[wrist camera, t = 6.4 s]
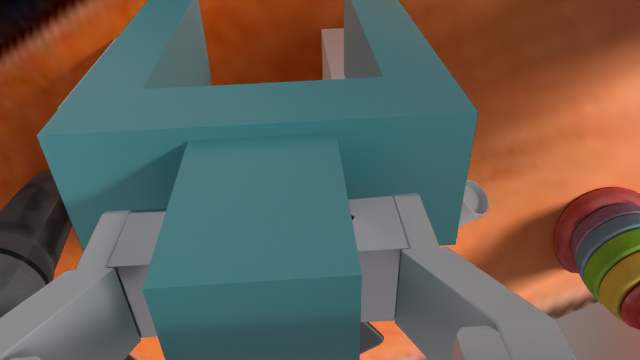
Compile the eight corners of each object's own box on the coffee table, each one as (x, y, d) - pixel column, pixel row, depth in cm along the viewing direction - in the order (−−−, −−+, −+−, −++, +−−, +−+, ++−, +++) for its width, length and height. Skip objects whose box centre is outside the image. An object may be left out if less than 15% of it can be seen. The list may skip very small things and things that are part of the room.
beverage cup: (-1, 162, 44) (-170, 356, 27) (81, 154, 44) (-38, 343, 27) (32, 225, 48) (-97, 426, 32) (108, 217, 48) (17, 415, 32)
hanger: (385, -18, 19) (573, 245, 7) (381, 70, 21) (519, 396, 9) (154, -8, 19) (-90, 287, 6) (173, 81, 21) (15, 433, 8)
